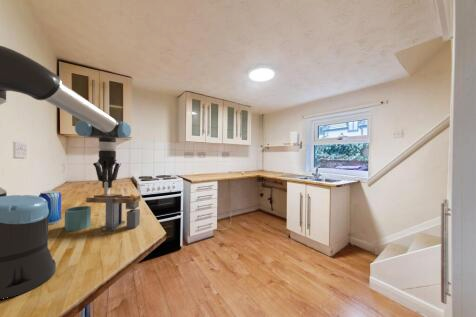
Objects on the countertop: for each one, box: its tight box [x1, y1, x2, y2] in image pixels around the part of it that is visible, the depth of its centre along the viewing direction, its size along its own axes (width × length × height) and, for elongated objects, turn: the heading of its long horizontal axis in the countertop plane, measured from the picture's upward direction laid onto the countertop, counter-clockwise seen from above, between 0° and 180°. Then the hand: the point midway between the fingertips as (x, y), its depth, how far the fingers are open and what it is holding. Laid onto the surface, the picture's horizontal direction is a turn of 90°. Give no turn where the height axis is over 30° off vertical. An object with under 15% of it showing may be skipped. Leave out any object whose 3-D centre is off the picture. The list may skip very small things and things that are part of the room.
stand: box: [101, 193, 126, 232], centre depth 91 cm, size 11×5×15 cm, turn 6°
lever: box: [85, 193, 141, 210], centre depth 96 cm, size 22×15×6 cm
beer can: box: [38, 190, 62, 226], centre depth 94 cm, size 8×8×16 cm
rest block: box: [126, 208, 141, 229], centre depth 92 cm, size 5×4×8 cm
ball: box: [129, 193, 138, 199], centre depth 92 cm, size 3×3×3 cm
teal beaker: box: [64, 205, 92, 232], centre depth 90 cm, size 9×9×9 cm
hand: (107, 193), depth 100 cm, fingers closed
